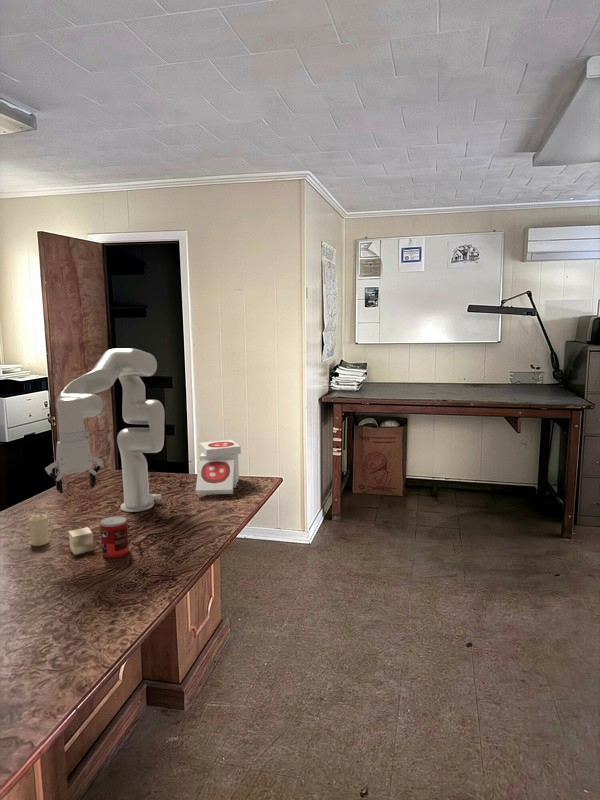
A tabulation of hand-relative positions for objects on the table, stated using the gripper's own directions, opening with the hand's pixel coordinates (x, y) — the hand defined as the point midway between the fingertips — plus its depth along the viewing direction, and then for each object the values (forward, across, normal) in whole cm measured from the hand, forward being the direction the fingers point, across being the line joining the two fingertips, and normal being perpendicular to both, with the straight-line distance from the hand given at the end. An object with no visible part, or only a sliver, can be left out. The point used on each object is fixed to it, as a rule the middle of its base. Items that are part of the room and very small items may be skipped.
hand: (76, 489), depth 183 cm
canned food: (+20, -8, +10) cm, 24 cm away
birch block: (+20, 0, 0) cm, 20 cm away
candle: (+20, +10, -14) cm, 27 cm away
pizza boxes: (+20, -65, -33) cm, 76 cm away
